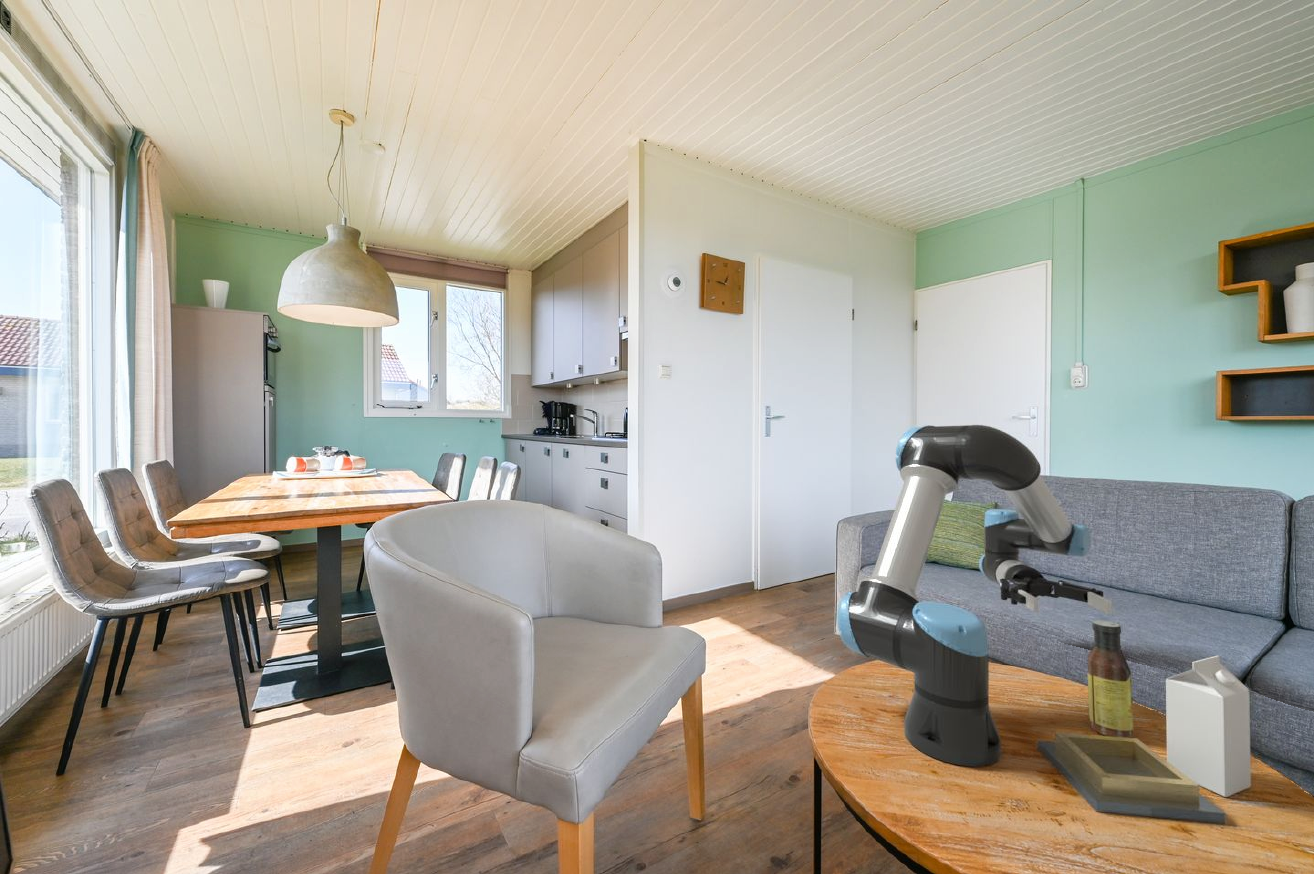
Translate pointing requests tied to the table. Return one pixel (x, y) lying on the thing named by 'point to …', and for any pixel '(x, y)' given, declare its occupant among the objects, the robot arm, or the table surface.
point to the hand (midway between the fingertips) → (1072, 606)
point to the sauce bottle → (1109, 683)
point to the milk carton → (1209, 727)
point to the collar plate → (1127, 778)
